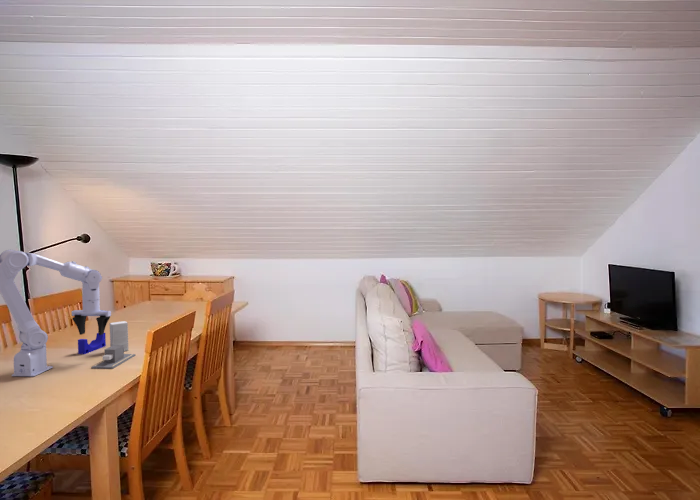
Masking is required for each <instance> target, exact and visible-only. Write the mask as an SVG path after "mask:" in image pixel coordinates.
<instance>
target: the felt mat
mask: <svg viewBox="0 0 700 500" xmlns="http://www.w3.org/2000/svg"><path fill="white" fill-rule="evenodd" d="M135 356H136V353H124V358H123V359H121V360H119V361H117V362H115V363H105V360H103V359H102V361H100V362H98V363H96V364H94V365H92V366H90V368H91V369H94V370H95V369H97V370H98V369H99V370H101V369H104V370H105V369H106V370H107V369H108V370H109V369H111V370H113V369H115V368H116V367H119V366H121V365H122V364H123V363H125V362H127V361H129V360H131V359H133V357H135Z"/></svg>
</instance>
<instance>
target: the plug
mask: <svg viewBox="0 0 700 500" xmlns="http://www.w3.org/2000/svg"><path fill="white" fill-rule="evenodd" d="M103 351H104V355H102V356H101V357H102V361H103V360H105V363H115V362H117V361H119V360H121V359H123V358H124V354H125V351H124V345H113V346H111V347H110V346H109V347H107V348H104V350H103Z"/></svg>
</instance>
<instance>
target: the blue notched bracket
mask: <svg viewBox="0 0 700 500" xmlns="http://www.w3.org/2000/svg"><path fill="white" fill-rule="evenodd" d="M106 338H107V337H106V332H104V334H102V335H99V333H98V332H97V333H96V336H95V339H93V340H91V341H90V343H89V342H88V341H89V340H88V339H87V338H79V339H77V349H78V350H77V354H78V355H87V354H89V352H90V353H92V352H94V351H97V350H99V349H102V348H104V347H105V348H106V345H107V344H106V342H107V341H106V340H107V339H106Z"/></svg>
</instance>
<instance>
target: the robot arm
mask: <svg viewBox="0 0 700 500" xmlns="http://www.w3.org/2000/svg"><path fill="white" fill-rule="evenodd" d="M26 266H28V267H33V266H40V267H42V268H43V267H44V268H46V269H50V270H54V271H58V272H59V273H60V276H61V277H64V278H66V279H67V278H68V279H71V280H74V281H77V282H80V283H82V285H81V287H82V288H81V292H82V293H81V295H82V309H80V310H79V309H75V310H72V311H71V317H72V321H73V322H74V324H75V325H76V327H77V330H78V333H79V335H81V336H82V335H85V334H86V320H87V317H96V318H95V320H96V322H97V326H98V330H97V331H98V332H97V333H99V335H102V334H104V333H105V331H106V326H107V324H108V323H109V320H110V318H111V316H112V311H111V310H103V309H101V307H100V305H101V303H100V302H101V301H100V300H101V299H100V297H101V296H100V294H101V293H100V282H101V281H102V279H103V276H102V275H101V272H100V271H98V270H97V269H91V268H90V267H89V266H87V265H85V266H83V265H80V264H77V262H76V261H74V260H73V261H72V260H71V261H67V262H64V263H63V262H60V261H57V260H55V259H51V258H48V257H46V256H43V255H41V254H38V253H37V254H36V253H31V252H24V251H22V250H15V249H6V250H4V251H2V252H1V253H0V295H1V297H2V299H3V301H4V303H5V304H6V306H7V309H8V310H9V312H10V314H11V316H12V318H13V320H14V321H15V323H16V325H17V331H18V332H19V335H18V338H19V340H20V342H21V343H22V344H21V346H20V350H19V351H18V352H17V353H16V354H14V356H13V374H11V377H36V376H38V375H41V374H43V373H44V372H46V371H48V370H51V369H53V368H54V367H53V366H51V365H49V366H48V365H47V363H48V362H47V361H48V360H47V342H48V339H49V336H48V334H47V332H45V330H42V329H41V327H40V325H39V324H38V323H37V322H36V320H35V319H34V317H33V315H32V313H31V310H30V309H29V307H28V305H27V303H26V302H25V300H24V297H23V296H22V294H21V293H20V290H19V288H18V286H17V284H16V282H15V278H16V276H17V275H18V273H19V272H21V271H22V270H23V269H24V268H25V267H26Z"/></svg>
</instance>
